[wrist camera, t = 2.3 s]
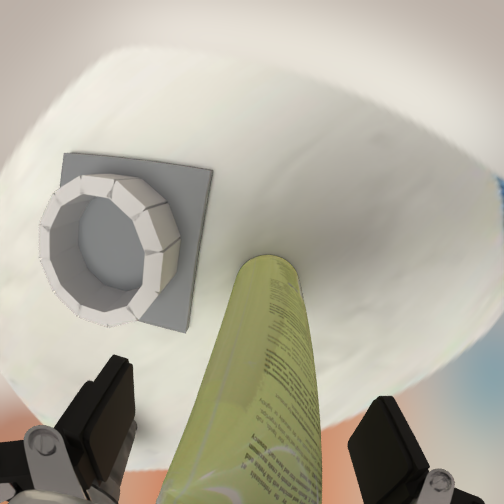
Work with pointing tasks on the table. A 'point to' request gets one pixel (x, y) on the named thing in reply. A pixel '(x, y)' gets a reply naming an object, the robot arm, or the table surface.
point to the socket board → (125, 239)
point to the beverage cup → (114, 474)
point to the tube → (254, 402)
